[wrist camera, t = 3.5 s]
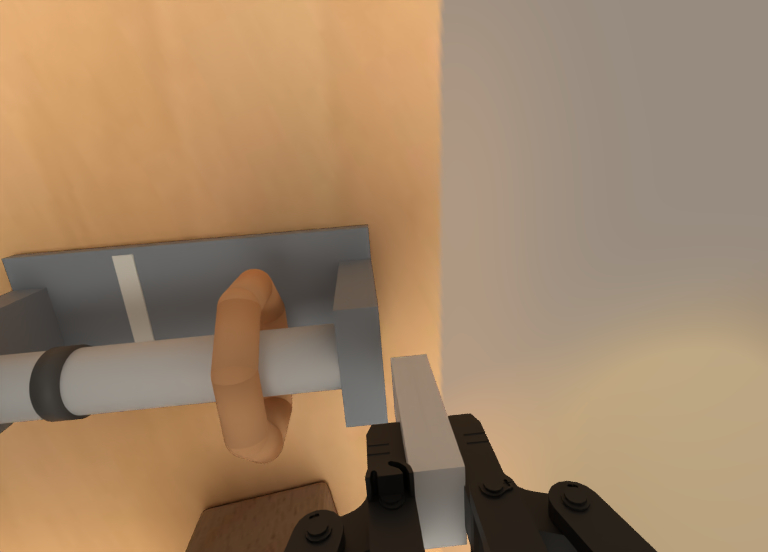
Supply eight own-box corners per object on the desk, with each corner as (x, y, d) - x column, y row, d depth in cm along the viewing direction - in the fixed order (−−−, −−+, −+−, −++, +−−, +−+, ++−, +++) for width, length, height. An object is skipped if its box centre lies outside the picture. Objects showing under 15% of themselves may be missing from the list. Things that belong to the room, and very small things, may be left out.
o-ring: (271, 394, 26) (231, 509, 18) (247, 256, 24) (188, 315, 15) (300, 391, 26) (275, 504, 18) (279, 253, 24) (238, 310, 15)
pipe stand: (62, 395, 29) (-76, 510, 20) (14, 255, 26) (-173, 312, 17) (379, 363, 30) (391, 459, 21) (367, 224, 27) (374, 263, 18)
